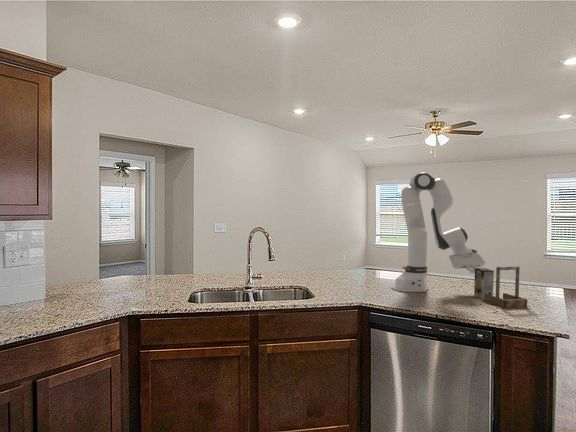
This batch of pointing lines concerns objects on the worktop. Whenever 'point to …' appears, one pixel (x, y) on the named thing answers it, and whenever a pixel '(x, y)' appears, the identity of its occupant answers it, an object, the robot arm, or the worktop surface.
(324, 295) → the worktop surface
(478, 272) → the coffee box
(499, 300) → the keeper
